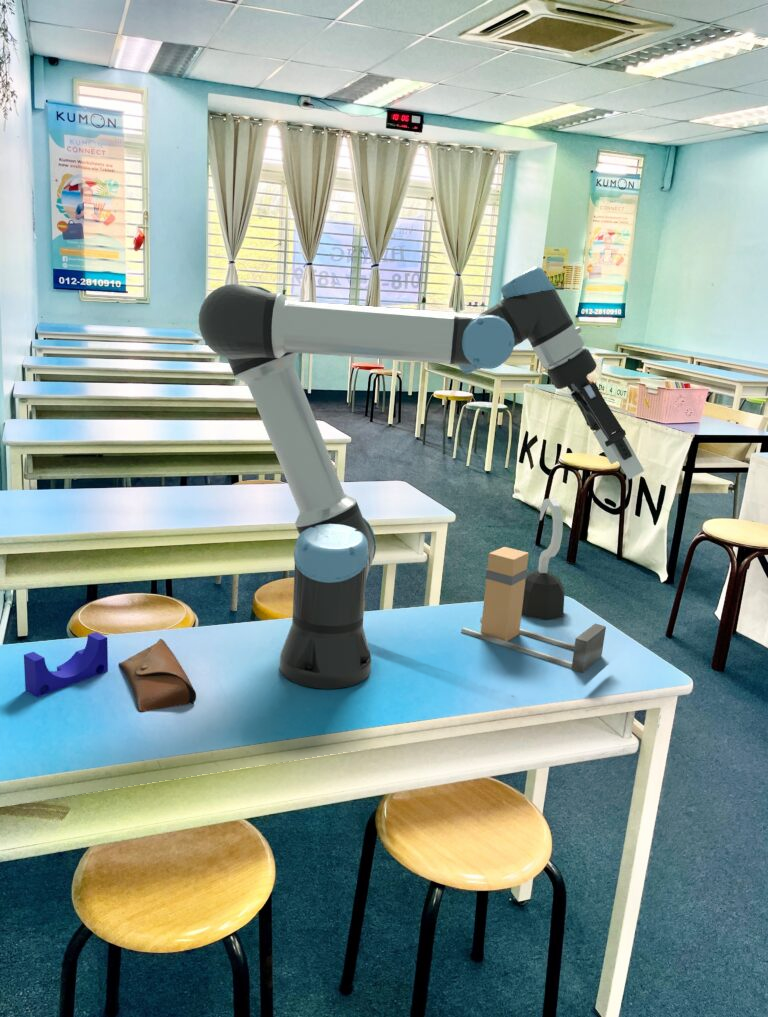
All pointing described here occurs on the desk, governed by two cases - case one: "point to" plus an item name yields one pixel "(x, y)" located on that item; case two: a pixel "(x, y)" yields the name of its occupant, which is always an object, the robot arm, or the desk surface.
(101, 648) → the purple cradle bracket
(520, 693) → the desk surface
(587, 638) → the track
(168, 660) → the sunglasses case
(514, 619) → the tan box with band
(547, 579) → the hook
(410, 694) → the desk surface
